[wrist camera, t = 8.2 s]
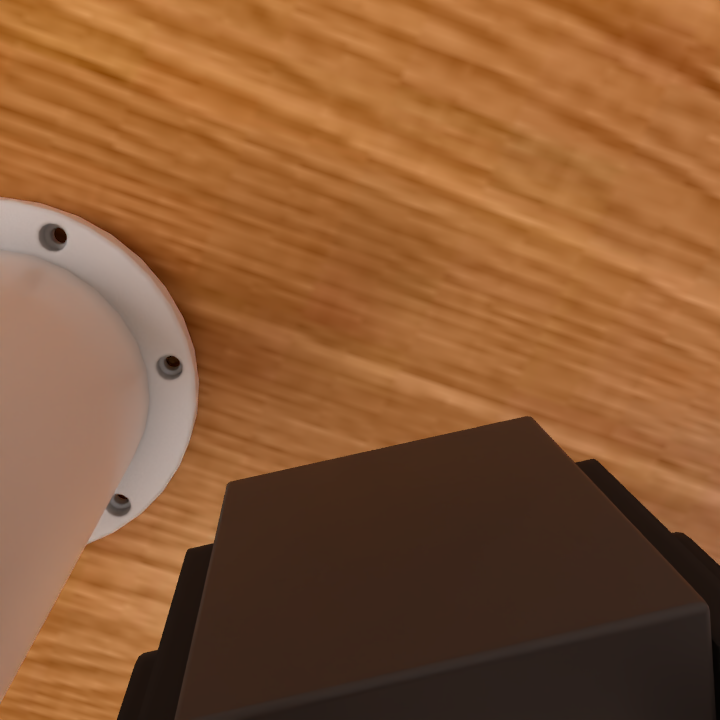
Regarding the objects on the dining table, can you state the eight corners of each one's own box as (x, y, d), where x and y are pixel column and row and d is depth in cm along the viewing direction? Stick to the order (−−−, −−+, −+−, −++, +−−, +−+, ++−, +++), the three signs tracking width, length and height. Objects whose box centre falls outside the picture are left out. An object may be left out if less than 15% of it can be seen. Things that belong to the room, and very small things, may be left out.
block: (295, 727, 11) (294, 1093, 6) (225, 480, 9) (167, 731, 5) (565, 665, 11) (735, 981, 7) (530, 412, 10) (714, 603, 5)
